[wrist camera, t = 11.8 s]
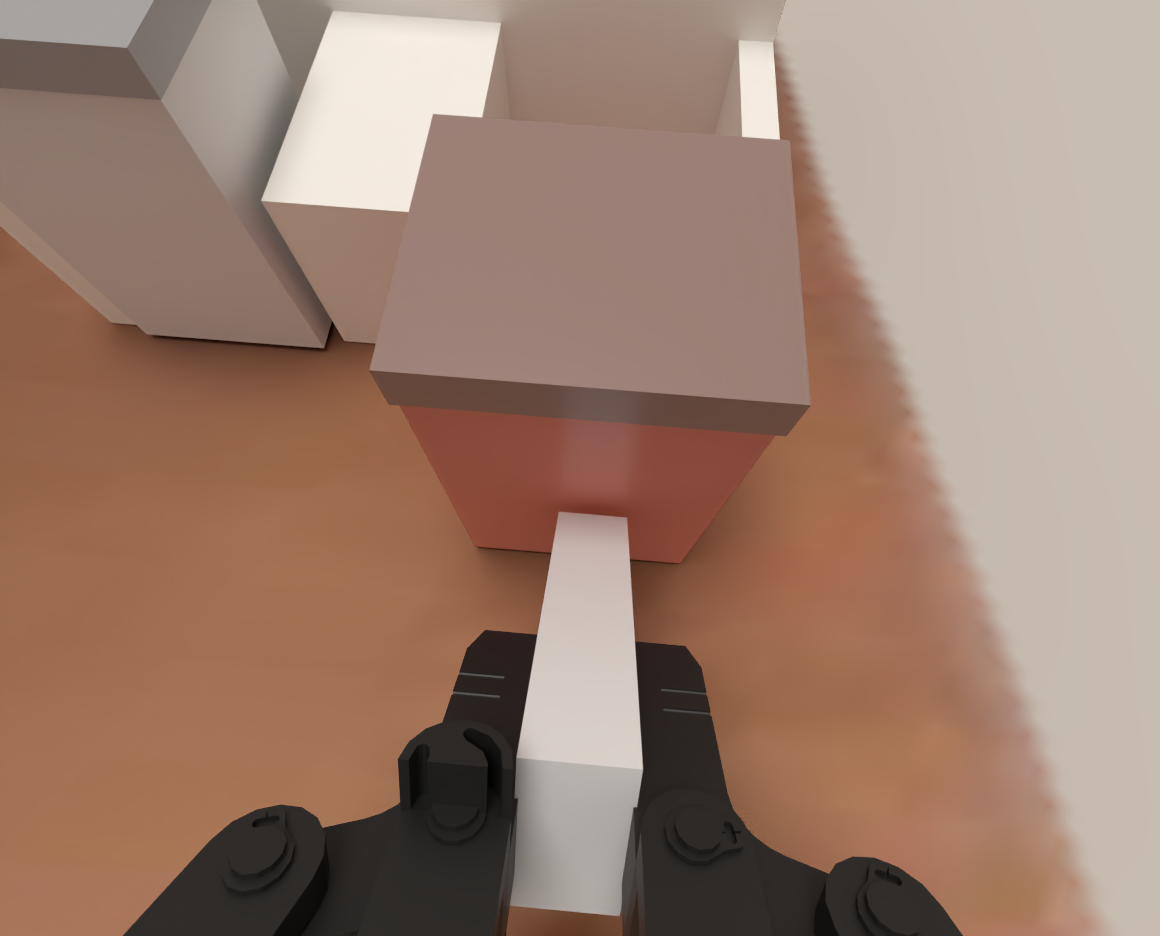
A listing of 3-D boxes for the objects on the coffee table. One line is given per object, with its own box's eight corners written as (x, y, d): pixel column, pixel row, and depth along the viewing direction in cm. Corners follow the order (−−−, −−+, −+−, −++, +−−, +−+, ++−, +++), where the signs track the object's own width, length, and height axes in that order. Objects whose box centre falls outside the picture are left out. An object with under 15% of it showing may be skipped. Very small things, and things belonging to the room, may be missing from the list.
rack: (111, 322, 20) (-263, -2, 11) (201, 127, 24) (-26, -239, 15) (726, 371, 20) (860, 81, 11) (722, 166, 24) (821, -181, 15)
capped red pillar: (471, 549, 17) (369, 370, 8) (495, 394, 19) (432, 113, 10) (683, 567, 17) (810, 405, 8) (685, 409, 19) (789, 141, 10)
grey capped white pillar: (142, 336, 20) (-208, 23, 11) (193, 218, 22) (-68, -129, 13) (326, 351, 20) (127, 48, 11) (360, 231, 22) (216, -109, 13)
